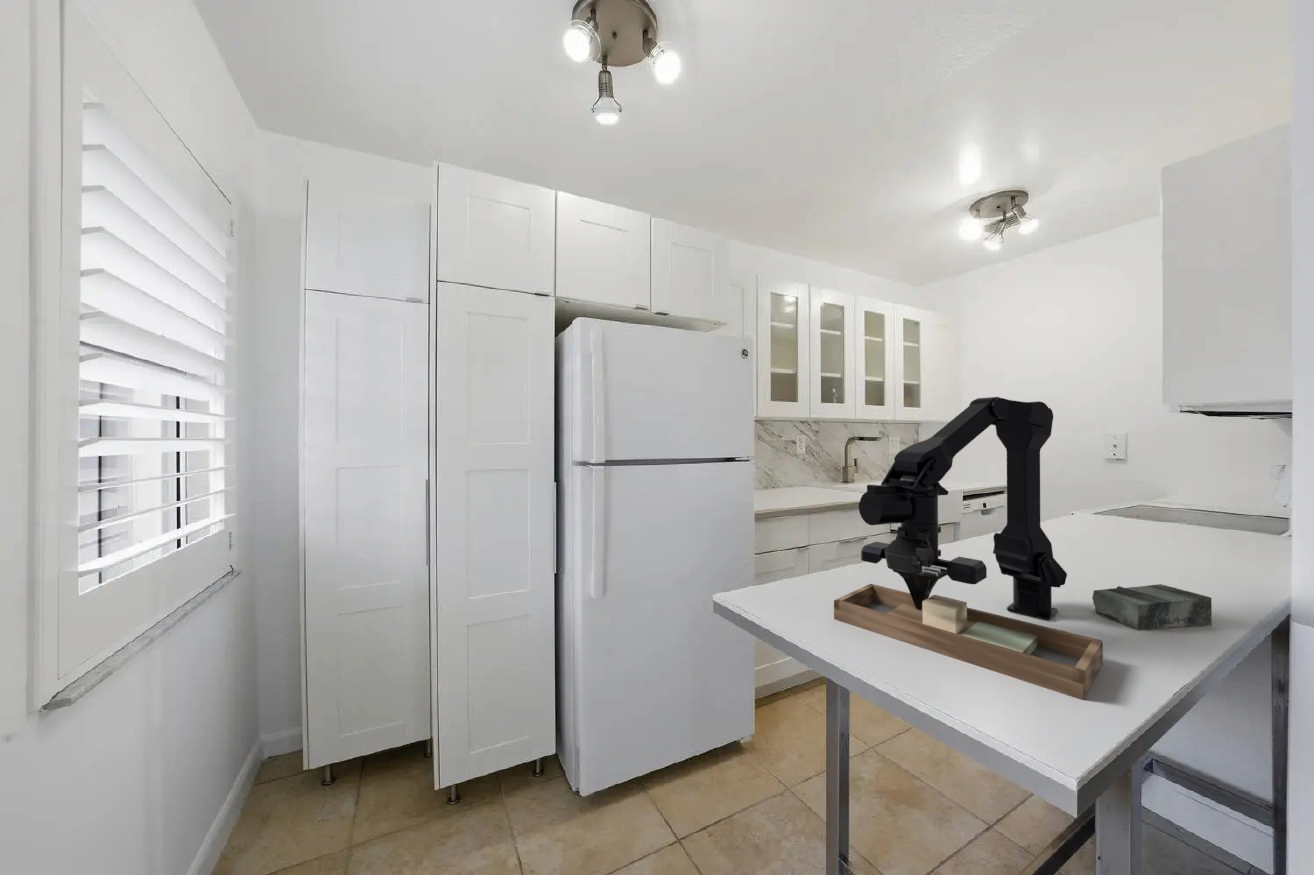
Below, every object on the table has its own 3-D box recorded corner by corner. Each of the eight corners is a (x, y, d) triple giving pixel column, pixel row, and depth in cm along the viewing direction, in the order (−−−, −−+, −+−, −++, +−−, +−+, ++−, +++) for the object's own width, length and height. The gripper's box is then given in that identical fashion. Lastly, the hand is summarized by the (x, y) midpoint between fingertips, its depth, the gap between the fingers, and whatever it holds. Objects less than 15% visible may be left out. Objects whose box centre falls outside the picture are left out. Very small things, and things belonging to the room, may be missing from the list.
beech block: (934, 616, 83) (934, 594, 83) (967, 625, 79) (966, 602, 79) (922, 624, 80) (922, 601, 80) (955, 634, 76) (955, 609, 76)
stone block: (1086, 612, 89) (1085, 585, 89) (1154, 608, 91) (1154, 581, 91) (1137, 632, 80) (1137, 601, 80) (1213, 627, 82) (1213, 597, 82)
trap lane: (870, 600, 97) (870, 583, 97) (1102, 664, 70) (1102, 640, 70) (834, 618, 88) (833, 600, 88) (1083, 699, 61) (1083, 673, 61)
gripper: (845, 519, 85) (845, 605, 85) (961, 537, 70) (962, 641, 70) (875, 512, 92) (876, 591, 92) (987, 526, 77) (987, 621, 77)
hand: (919, 609), depth 83 cm, fingers closed
